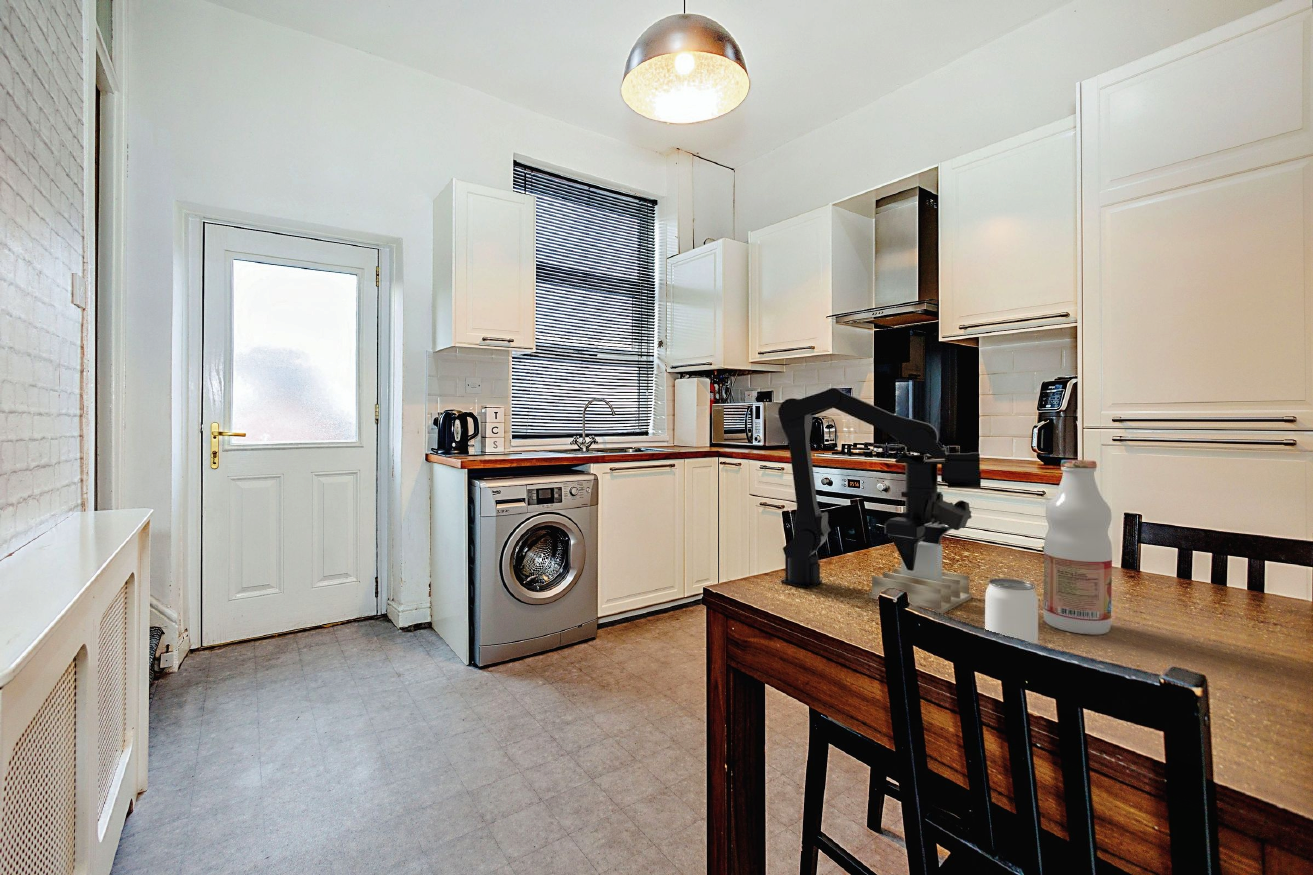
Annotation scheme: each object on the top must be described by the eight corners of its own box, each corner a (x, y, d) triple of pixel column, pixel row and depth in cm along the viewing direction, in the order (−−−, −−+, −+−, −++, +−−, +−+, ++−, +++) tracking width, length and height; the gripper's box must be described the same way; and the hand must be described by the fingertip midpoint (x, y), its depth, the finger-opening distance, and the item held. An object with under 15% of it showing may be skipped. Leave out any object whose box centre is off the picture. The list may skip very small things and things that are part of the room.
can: (1045, 678, 82) (1046, 591, 81) (993, 674, 83) (994, 588, 83) (1026, 659, 88) (1027, 578, 88) (978, 656, 89) (979, 576, 89)
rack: (868, 597, 118) (868, 575, 118) (902, 583, 128) (902, 563, 128) (941, 614, 108) (941, 590, 108) (972, 597, 118) (972, 575, 118)
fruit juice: (1030, 617, 106) (1032, 458, 105) (1082, 615, 107) (1084, 458, 105) (1069, 636, 97) (1071, 463, 96) (1125, 635, 97) (1128, 462, 96)
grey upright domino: (900, 591, 120) (901, 541, 119) (906, 588, 121) (906, 539, 121) (936, 598, 115) (937, 546, 114) (942, 596, 116) (942, 544, 116)
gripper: (944, 495, 105) (943, 583, 106) (983, 485, 118) (983, 564, 118) (883, 489, 113) (883, 572, 114) (926, 481, 126) (925, 555, 126)
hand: (921, 566), depth 118 cm, fingers open, 9 cm apart
